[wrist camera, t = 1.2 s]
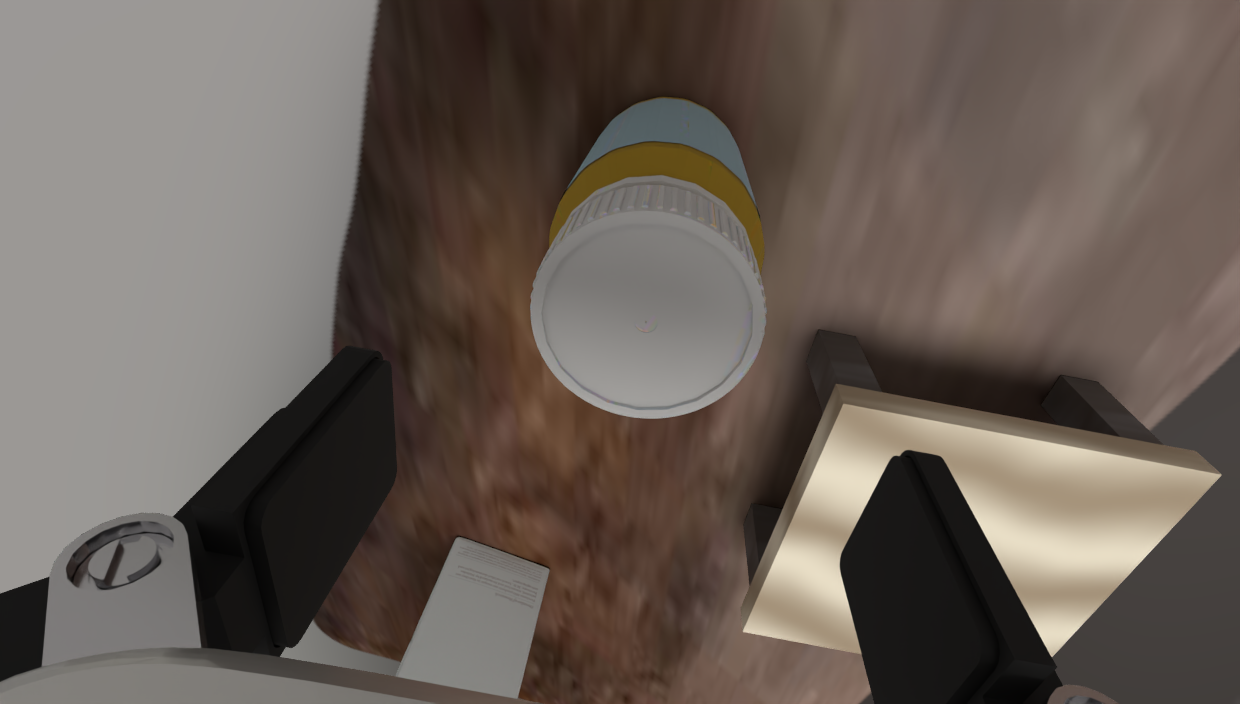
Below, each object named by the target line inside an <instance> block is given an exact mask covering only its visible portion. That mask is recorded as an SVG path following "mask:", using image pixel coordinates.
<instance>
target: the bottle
mask: <svg viewBox="0 0 1240 704" xmlns="http://www.w3.org/2000/svg"><path fill="white" fill-rule="evenodd" d="M763 260H764V240H763V233H762V226H761V220H760V215H759V212H758V209H757V206H756V203H755V199H754V196H753V193H752V190H751V186H750V183H749V180H748V177H747V174H746V170H745V167H744V164H743V161H742V158H741V154H740V151H739V148H738V146H737V144H736V142H735V140H734V139H733V137H732V135H731V133H730V131H729V129H728V128H727V126H726V125H725V124H724V123H723V122H722V121H721V120H720V119H719V118H718V117H717V116H716V115H715V114H714V113H713V112H712V111H710V110H709V109H707V108H706V107H703V106H701V105H699V104H697V103H695V102H692V101H690V100H687V99H683V98H672V97H657V98H653V99H649V100H645V101H641V102H638V103H636V104H634V105H632V106H631V107H629V108H628V109H626V110H625V111H623V112H622V113H620V114H619V115H617V116H616V117H615V118H614V119H613V120H612V121H611V122H610V123H609V125H608V126H607V127H606V128H605V130H604V131H603V132H602V133H601V135H600V136H599V138H598V139H597V141H596V142H595V144H594V146H593V147H592V149H591V150H590V152H589V154H588V155H587V157H586V158H585V160H584V162H583V163H582V165H581V166H580V168H579V170H578V171H577V173H576V174H575V176H574V178H573V179H572V181H571V182H570V184H569V186H568V187H567V189H566V190H565V192H564V194H563V196H562V198H561V200H560V203H559V205H558V208H557V211H556V213H555V216H554V219H553V222H552V225H551V229H550V234H549V250H548V252H547V253H546V255H545V257H544V259H543V261H542V263H541V265H540V267H539V269H538V271H537V273H536V275H537V277H536V279H535V280H534V282H533V288H534V289H533V291H532V293H531V299H532V300H531V305H530V309H531V323H532V329H533V334H534V338H535V341H536V344H537V346H538V349H539V351H540V353H541V355H542V357H543V359H544V361H545V362H546V364H547V365H548V367H549V368H550V370H551V371H552V372H553V374H554V375H555V376H556V377H557V378H558V379H559V380H560V381H561V382H562V383H563V384H564V385H565V386H566V387H567V388H568V389H569V390H571V391H572V392H573V393H574V394H576V395H577V396H579V397H580V398H582V399H583V400H585V401H587V402H588V403H590V404H592V405H594V406H596V407H599V408H601V409H603V410H606V411H609V412H612V413H615V414H619V415H624V416H629V417H636V418H667V417H674V416H679V415H683V414H687V413H690V412H693V411H696V410H699V409H701V408H703V407H705V406H708V405H709V404H711V403H713V402H715V401H717V400H718V399H720V398H721V397H723V396H724V395H725V394H727V393H728V392H729V391H730V390H732V389H733V388H734V387H735V386H736V385H737V384H738V383H739V382H740V381H741V379H742V378H743V377H744V376H745V375H746V373H747V372H748V370H749V369H750V367H751V366H752V364H753V362H754V360H755V358H756V356H757V354H758V352H759V349H760V346H761V343H762V339H763V337H764V333H765V332H764V327H765V325H766V317H765V315H766V313H767V308H766V304H765V301H766V298H765V293H764V289H763V284H762V280H761V276H760V275H761V270H762V265H763Z"/></svg>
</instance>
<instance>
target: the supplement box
mask: <svg viewBox="0 0 1240 704" xmlns="http://www.w3.org/2000/svg"><path fill="white" fill-rule="evenodd" d="M549 571H550V570H549V569H548V568H546V567H543V566H541V565H538V564H535V563H533V562H530V561H527V560H524V559H521V558H519V557H516V556H513V555H510V554H507V553H505V552H502V551H500V550H497V549H494V548H491V547H488V546H485V545H482V544H480V543H477V542H474V541H472V540H469V539H465V538H462V537H457V538H456V539H455V541H454V543H453V545H452V548H451V550H450V552H449V555H448V557H447V559H446V561H445V564H444V566H443V568H442V571H441V573H440V575H439V577H438V580H437V582H436V584H435V586H434V589H433V591H432V593H431V595H430V598H429V600H428V602H427V605H426V607H425V609H424V611H423V614H422V616H421V618H420V621H419V623H418V625H417V627H416V630H415V632H414V634H413V637H412V639H411V641H410V643H409V646H408V648H407V650H406V653H405V655H404V657H403V659H402V662H401V664H400V666H399V669H398V671H397V674H396V676H395V677H400V678H406V679H411V680H417V681H422V682H428V683H433V684H439V685H444V686H450V687H455V688H460V689H466V690H471V691H477V692H482V693H488V694H493V695H499V696H504V697H510V698H515V699H517V698H518V694H519V690H520V686H521V682H522V678H523V674H524V670H525V666H526V662H527V658H528V654H529V650H530V646H531V642H532V638H533V634H534V630H535V626H536V622H537V618H538V614H539V610H540V606H541V602H542V598H543V594H544V590H545V586H546V582H547V578H548V574H549Z"/></svg>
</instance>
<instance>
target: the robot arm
mask: <svg viewBox="0 0 1240 704" xmlns="http://www.w3.org/2000/svg"><path fill="white" fill-rule="evenodd" d="M396 473H397V460H396V442H395V424H394V406H393V388H392V370H391V364H390V362H389V361H386V360H383V357H382V354H381V353H380V352H379V351H375V350H370V349H364V348H359V347H353V346H346V347H345V348H343V349H342V350H341V351H340V352H339V353H338V354H337V355H336V356H335V357H334V358H333V359H332V360H331V361H330V362H329V363H328V365H327V366H326V367H325V368H324V369H323V370H322V371H321V372H320V373H319V374H318V375H317V376H316V377H315V378H314V379H313V380H312V381H311V382H310V383H309V384H308V385H307V386H306V387H305V388H304V389H303V390H302V391H301V392H300V393H299V394H298V395H297V397H295V399H293V401H292V402H291V403H290V404H289V405H288V406H287V407H286V408H282V409H280V410H279V411H278V412H276V413H275V414H274V415H273V416H272V417H271V418H270V419H269V420H268V421H267V422H266V423H265V424H264V425H263V426H262V427H261V428H260V429H259V430H258V431H257V432H256V433H255V434H254V435H253V436H252V437H251V438H250V439H249V440H248V441H247V442H246V443H245V444H244V445H243V446H242V447H241V448H240V449H239V450H238V451H237V452H236V453H235V454H234V455H233V456H232V457H231V458H230V459H229V460H228V461H227V462H226V463H225V464H224V465H223V466H222V468H220V469H219V470H218V471H217V472H216V474H214V476H213V477H212V478H211V479H210V480H209V481H208V482H207V483H206V484H205V485H204V486H203V487H202V488H201V489H200V490H199V491H198V492H197V493H196V494H195V495H194V496H193V497H192V498H191V499H190V500H189V501H188V502H187V503H186V504H185V505H184V506H183V507H182V508H181V509H180V510H179V511H178V512H177V513H176V514H175V515H174V516H173V517H171V516H167V515H164V514H160V513H139V514H133V515H127V516H122V517H119V518H116V519H113V520H110V521H108V522H105V523H102V524H100V525H98V526H96V527H94V528H92V529H91V530H89V531H87V532H85V533H83V534H81V535H80V536H79V537H78V538H76V539H75V540H74V541H73V542H71V543H70V544H69V545H68V546H66V547H65V549H64V550H63V551H62V553H61V554H60V555H59V556H58V557H57V559H56V560H55V561H54V564H53V567H52V570H51V573H50V577H48V578H44V579H42V580H39V581H36V582H33V583H30V584H27V585H24V586H21V587H18V588H15V589H12V590H9V591H7V592H4V593H1V594H0V704H542V703H537V702H531V701H526V700H521V699H515V698H510V697H504V696H499V695H493V694H488V693H482V692H477V691H471V690H466V689H460V688H455V687H450V686H444V685H439V684H433V683H428V682H422V681H417V680H411V679H406V678H400V677H395V676H389V675H384V674H378V673H373V672H367V671H361V670H355V669H349V668H342V667H337V666H331V665H325V664H318V663H312V662H307V661H301V660H295V659H288V658H282V657H280V655H281V654H282V652H283V651H284V649H285V647H289V648H293V647H294V646H296V644H298V642H299V641H300V640H301V638H302V637H303V635H304V633H305V632H306V630H307V628H308V627H309V625H310V623H311V622H312V620H313V618H314V617H315V615H316V613H317V612H318V610H319V608H320V607H321V605H322V603H323V602H324V600H325V598H326V597H327V595H328V593H329V592H330V590H331V588H332V587H333V585H334V583H335V582H336V580H337V578H338V577H339V575H340V573H341V572H342V570H343V568H344V567H345V565H346V563H347V562H348V560H349V558H350V557H351V555H352V553H353V552H354V550H355V548H356V547H357V545H358V543H359V542H360V540H361V538H362V537H363V535H364V533H365V532H366V530H367V528H368V527H369V525H370V523H371V522H372V520H373V518H374V517H375V515H376V513H377V512H378V510H379V508H380V507H381V505H382V503H383V502H384V500H385V498H386V497H387V495H388V493H389V492H390V490H391V488H392V486H393V484H394V481H395V478H396ZM840 573H841V577H842V581H843V585H844V588H845V592H846V596H847V600H848V604H849V608H850V611H851V615H852V619H853V623H854V627H855V631H856V634H857V638H858V642H859V646H860V650H861V654H862V657H863V661H864V665H865V669H866V673H867V677H868V681H869V684H870V688H871V692H872V696H873V700H874V704H1119V703H1117V702H1115V701H1113V700H1112V699H1110V698H1108V697H1107V696H1105V695H1103V694H1101V693H1100V692H1097V691H1094V690H1091V689H1089V688H1086V687H1083V686H1076V685H1065V686H1063V685H1062V683H1061V681H1060V679H1059V678H1058V676H1057V674H1056V672H1055V669H1056V668H1057V666H1056V664H1055V663H1054V661H1053V659H1052V657H1051V655H1050V653H1049V652H1048V650H1047V648H1046V646H1045V644H1044V642H1043V641H1042V639H1041V637H1040V635H1039V633H1038V631H1037V630H1036V628H1035V626H1034V624H1033V622H1032V620H1031V619H1030V617H1029V615H1028V613H1027V611H1026V609H1025V608H1024V606H1023V604H1022V602H1021V600H1020V598H1019V597H1018V595H1017V593H1016V591H1015V589H1014V587H1013V586H1012V584H1011V582H1010V580H1009V578H1008V576H1007V574H1006V573H1005V571H1004V569H1003V567H1002V565H1001V563H1000V562H999V560H998V558H997V556H996V554H995V552H994V551H993V549H992V547H991V545H990V543H989V541H988V540H987V538H986V536H985V534H984V532H983V530H982V529H981V527H980V525H979V523H978V521H977V519H976V518H975V516H974V514H973V512H972V510H971V508H970V507H969V505H968V503H967V501H966V499H965V497H964V496H963V494H962V492H961V490H960V488H959V486H958V485H957V483H956V481H955V479H954V477H953V475H952V474H951V472H950V470H949V468H948V466H947V464H946V463H945V461H944V460H943V458H942V457H941V456H938V455H934V454H929V453H924V452H918V451H913V450H905V451H904V452H902V453H901V455H900V456H893V457H892V458H891V459H890V461H889V462H888V464H887V466H886V468H885V470H884V472H883V474H882V476H881V478H880V480H879V481H878V483H877V485H876V487H875V489H874V491H873V493H872V495H871V497H870V499H869V501H868V503H867V504H866V506H865V508H864V510H863V512H862V514H861V516H860V518H859V520H858V522H857V524H856V526H855V527H854V529H853V531H852V533H851V535H850V537H849V539H848V541H847V543H846V545H845V547H844V549H843V551H842V553H841V557H840Z"/></svg>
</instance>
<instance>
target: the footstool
mask: <svg viewBox="0 0 1240 704" xmlns="http://www.w3.org/2000/svg"><path fill="white" fill-rule="evenodd" d="M806 362H807V365H808V368H809V371H810V374H811V378H812V381H813V384H814V387H815V390H816V393H817V397H818V400H819V403H820V406H821V409H822V412H823V415H822V418H821V420H820V422H819V425H818V427H817V429H816V432H815V434H814V436H813V439H812V441H811V444H810V446H809V448H808V451H807V453H806V455H805V458H804V460H803V462H802V465H801V467H800V469H799V472H798V474H797V476H796V479H795V481H794V484H793V486H792V488H791V491H790V493H789V495H788V498H787V500H786V502H785V505H784V507H783V509H778V508H773V507H768V506H763V505H757V504H751V507H750V509H749V512H748V514H747V517H746V520H745V522H744V535H745V545H746V555H747V565H748V575H749V585H750V587H749V589H748V592H747V594H746V597H745V599H744V601H743V604H742V606H741V619H742V631H743V632H747V633H752V634H757V635H763V636H768V637H773V638H779V639H784V640H789V641H794V642H800V643H805V644H810V645H816V646H821V647H826V648H831V649H837V650H842V651H847V652H853V653H858V654H861V650H860V646H859V642H858V638H857V634H856V631H855V627H854V623H853V619H852V615H851V611H850V608H849V604H848V600H847V596H846V592H845V588H844V585H843V581H842V577H841V573H840V557H841V553H842V551H843V549H844V547H845V545H846V543H847V541H848V539H849V537H850V535H851V533H852V531H853V529H854V527H855V526H856V524H857V522H858V520H859V518H860V516H861V514H862V512H863V510H864V508H865V506H866V504H867V503H868V501H869V499H870V497H871V495H872V493H873V491H874V489H875V487H876V485H877V483H878V481H879V480H880V478H881V476H882V474H883V472H884V470H885V468H886V466H887V464H888V462H889V461H890V459H891V458H892V457H893V456H900V455H901V453H902V452H904V451H905V450H913V451H918V452H924V453H929V454H934V455H938V456H941V457H942V458H943V460H944V461H945V463H946V464H947V466H948V468H949V470H950V472H951V474H952V475H953V477H954V479H955V481H956V483H957V485H958V486H959V488H960V490H961V492H962V494H963V496H964V497H965V499H966V501H967V503H968V505H969V507H970V508H971V510H972V512H973V514H974V516H975V518H976V519H977V521H978V523H979V525H980V527H981V529H982V530H983V532H984V534H985V536H986V538H987V540H988V541H989V543H990V545H991V547H992V549H993V551H994V552H995V554H996V556H997V558H998V560H999V562H1000V563H1001V565H1002V567H1003V569H1004V571H1005V573H1006V574H1007V576H1008V578H1009V580H1010V582H1011V584H1012V586H1013V587H1014V589H1015V591H1016V593H1017V595H1018V597H1019V598H1020V600H1021V602H1022V604H1023V606H1024V608H1025V609H1026V611H1027V613H1028V615H1029V617H1030V619H1031V620H1032V622H1033V624H1034V626H1035V628H1036V630H1037V631H1038V633H1039V635H1040V637H1041V639H1042V641H1043V642H1044V644H1045V646H1046V648H1047V650H1048V652H1049V653H1050V655H1051V657H1053V655H1054V654H1055V653H1056V652H1057V651H1058V650H1059V649H1060V648H1061V647H1062V646H1063V645H1064V644H1065V643H1066V642H1067V640H1068V639H1069V638H1070V637H1071V636H1072V635H1073V634H1074V633H1075V632H1076V631H1077V630H1078V628H1079V627H1080V626H1081V625H1082V624H1083V623H1084V622H1085V621H1086V620H1087V619H1088V618H1089V617H1090V616H1091V615H1092V613H1093V612H1094V611H1095V610H1096V609H1097V608H1098V607H1099V606H1100V605H1101V604H1102V603H1103V602H1104V601H1105V600H1106V598H1107V597H1108V596H1109V595H1110V594H1111V593H1112V592H1113V591H1114V590H1115V589H1116V588H1117V587H1118V586H1119V585H1120V584H1121V582H1122V581H1123V580H1124V579H1125V578H1126V577H1127V576H1128V575H1129V574H1130V573H1131V572H1132V571H1133V570H1134V568H1135V567H1136V566H1137V565H1138V564H1139V563H1140V562H1141V561H1142V560H1143V559H1144V558H1145V557H1146V556H1147V554H1148V553H1149V552H1150V551H1151V550H1152V549H1153V548H1154V547H1155V546H1156V545H1157V544H1158V543H1159V542H1160V541H1161V539H1162V538H1163V537H1164V536H1165V535H1166V534H1167V533H1168V532H1169V531H1170V530H1171V529H1172V528H1173V527H1174V525H1175V524H1176V523H1177V522H1178V521H1179V520H1180V519H1181V518H1182V517H1183V516H1184V515H1185V514H1186V513H1187V511H1189V509H1190V508H1191V507H1192V506H1193V505H1194V504H1195V503H1196V502H1197V501H1198V500H1199V499H1200V498H1201V497H1202V495H1203V494H1204V493H1205V492H1206V491H1207V490H1208V489H1209V488H1210V487H1211V486H1212V485H1213V484H1214V483H1215V482H1216V480H1217V479H1218V478H1219V477H1220V476H1221V474H1220V473H1219V472H1218V471H1217V470H1216V469H1215V468H1214V467H1213V466H1211V465H1210V464H1209V463H1208V462H1207V461H1206V460H1205V459H1204V458H1203V457H1202V456H1200V455H1199V454H1198V453H1197V452H1196V451H1192V450H1186V449H1181V448H1176V447H1170V446H1165V445H1163V444H1162V443H1161V442H1160V441H1159V440H1158V439H1157V438H1156V437H1155V436H1154V435H1153V434H1152V433H1151V432H1150V431H1149V430H1148V429H1147V428H1146V427H1145V426H1144V425H1143V424H1141V423H1140V422H1139V421H1138V420H1137V419H1136V418H1135V417H1134V416H1133V415H1132V414H1131V413H1130V412H1129V411H1128V410H1127V409H1126V408H1125V407H1124V406H1123V405H1122V404H1121V403H1120V402H1118V401H1117V400H1116V399H1115V398H1114V397H1113V396H1112V395H1111V394H1110V393H1109V392H1108V391H1107V390H1106V389H1105V388H1104V387H1103V386H1102V385H1101V384H1100V383H1099V382H1095V381H1089V380H1084V379H1079V378H1073V377H1068V376H1063V375H1061V376H1060V377H1059V379H1058V380H1057V382H1056V383H1055V385H1054V386H1053V388H1052V389H1051V391H1050V392H1049V394H1048V395H1047V397H1046V398H1045V400H1044V401H1043V403H1042V404H1041V406H1042V407H1043V408H1044V409H1045V410H1046V412H1047V413H1048V414H1049V415H1050V416H1051V417H1052V419H1053V420H1054V421H1055V422H1056V423H1057V425H1053V424H1048V423H1043V422H1037V421H1032V420H1027V419H1021V418H1016V417H1011V416H1006V415H1000V414H995V413H990V412H984V411H979V410H974V409H968V408H963V407H958V406H952V405H947V404H942V403H936V402H931V401H926V400H920V399H915V398H910V397H904V396H899V395H894V394H888V393H883V392H882V390H881V388H880V386H879V384H878V382H877V380H876V378H875V376H874V374H873V372H872V370H871V368H870V365H869V363H868V361H867V359H866V357H865V355H864V353H863V351H862V349H861V347H860V345H859V343H858V341H857V338H856V337H855V336H850V335H844V334H839V333H834V332H828V331H823V330H818V332H817V334H816V337H815V340H814V342H813V345H812V348H811V350H810V353H809V355H808V358H807V361H806Z"/></svg>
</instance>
